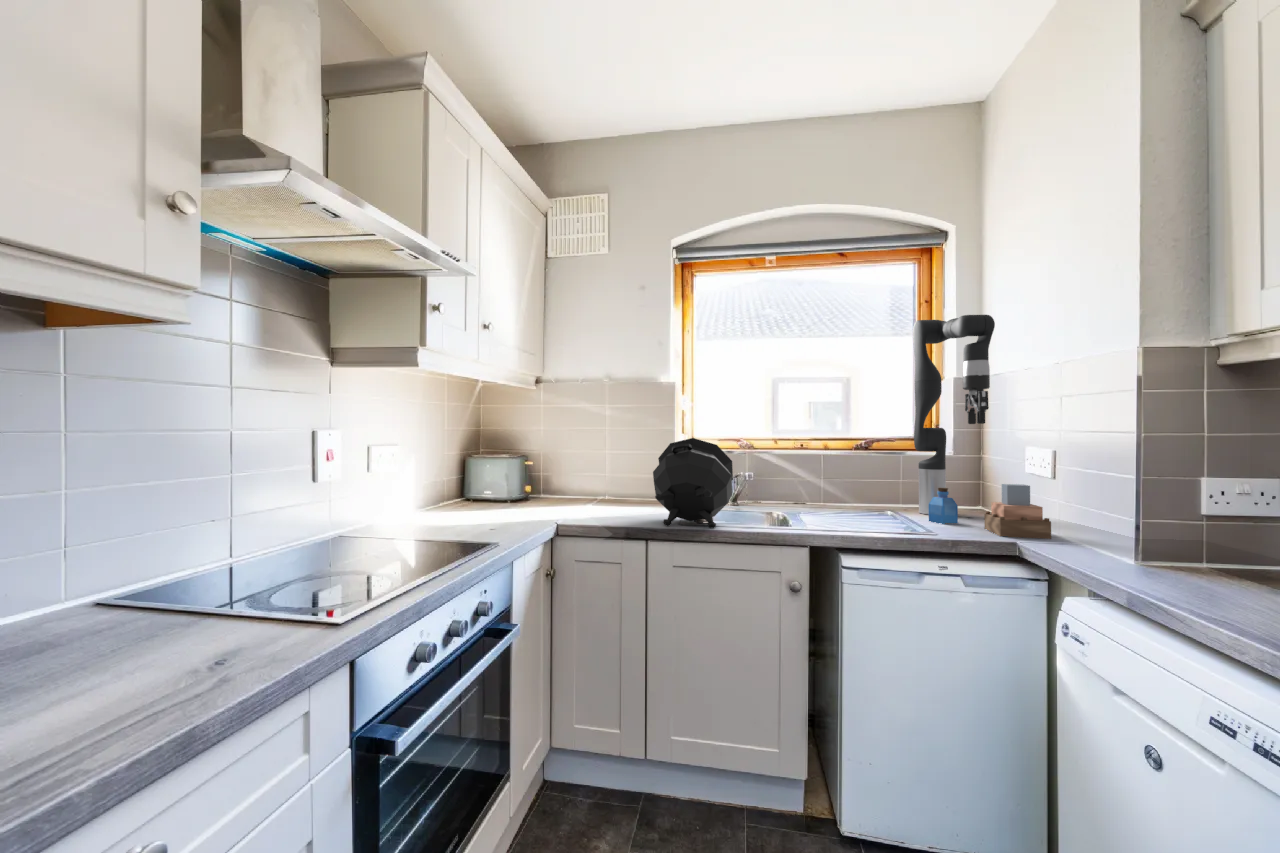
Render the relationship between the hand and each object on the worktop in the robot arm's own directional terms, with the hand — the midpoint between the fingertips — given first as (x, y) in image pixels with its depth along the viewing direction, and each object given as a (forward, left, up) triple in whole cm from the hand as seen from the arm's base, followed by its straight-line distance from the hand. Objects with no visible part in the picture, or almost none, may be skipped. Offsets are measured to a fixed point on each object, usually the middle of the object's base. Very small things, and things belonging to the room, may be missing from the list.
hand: (976, 423), depth 175 cm
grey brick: (+10, +7, -25) cm, 28 cm away
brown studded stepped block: (+10, +7, -34) cm, 36 cm away
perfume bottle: (-8, -8, -34) cm, 36 cm away
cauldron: (+20, -91, -34) cm, 99 cm away
